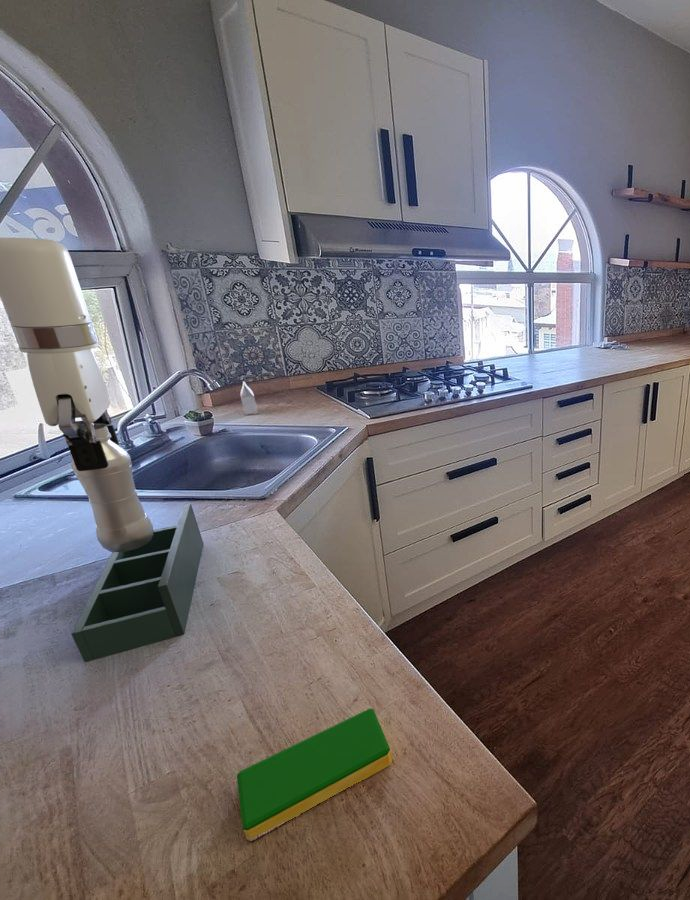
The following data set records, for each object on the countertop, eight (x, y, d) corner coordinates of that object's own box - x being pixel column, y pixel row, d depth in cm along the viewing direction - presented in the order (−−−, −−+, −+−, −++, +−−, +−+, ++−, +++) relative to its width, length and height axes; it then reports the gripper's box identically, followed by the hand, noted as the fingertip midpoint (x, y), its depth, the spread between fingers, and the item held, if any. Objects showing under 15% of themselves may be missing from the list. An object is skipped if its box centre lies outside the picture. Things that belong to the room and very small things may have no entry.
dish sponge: (241, 787, 54) (236, 772, 53) (375, 720, 62) (372, 706, 61) (248, 845, 49) (242, 829, 48) (393, 764, 57) (390, 749, 56)
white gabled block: (256, 408, 174) (250, 380, 170) (258, 413, 169) (251, 384, 165) (244, 409, 172) (237, 381, 168) (245, 415, 167) (237, 386, 163)
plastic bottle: (146, 531, 83) (109, 417, 76) (165, 543, 80) (127, 426, 73) (95, 548, 78) (50, 428, 71) (112, 562, 75) (67, 438, 68)
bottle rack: (84, 662, 69) (59, 610, 66) (128, 559, 91) (112, 516, 88) (184, 634, 75) (166, 584, 71) (203, 544, 97) (190, 502, 93)
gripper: (41, 328, 72) (82, 444, 79) (-12, 350, 58) (44, 488, 65) (110, 327, 76) (145, 437, 82) (76, 347, 62) (120, 477, 69)
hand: (100, 458), depth 74 cm, fingers closed on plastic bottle, 6 cm apart
